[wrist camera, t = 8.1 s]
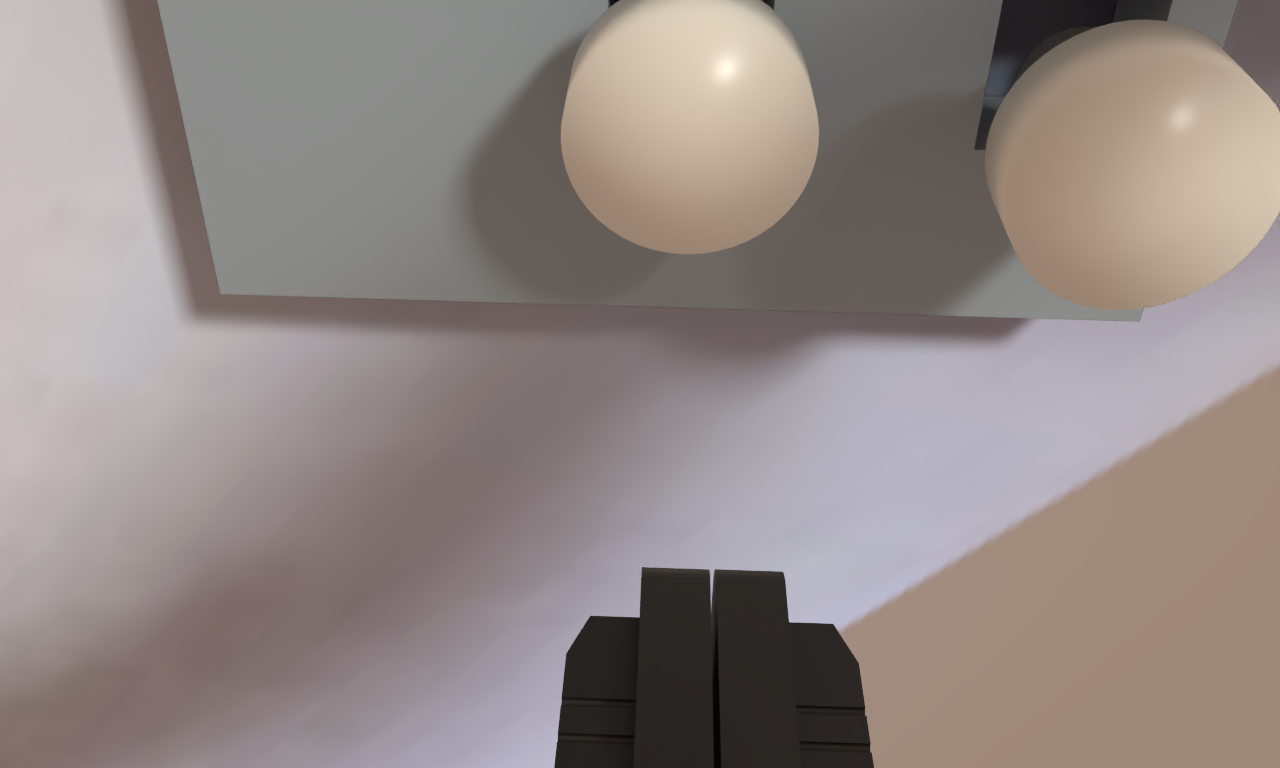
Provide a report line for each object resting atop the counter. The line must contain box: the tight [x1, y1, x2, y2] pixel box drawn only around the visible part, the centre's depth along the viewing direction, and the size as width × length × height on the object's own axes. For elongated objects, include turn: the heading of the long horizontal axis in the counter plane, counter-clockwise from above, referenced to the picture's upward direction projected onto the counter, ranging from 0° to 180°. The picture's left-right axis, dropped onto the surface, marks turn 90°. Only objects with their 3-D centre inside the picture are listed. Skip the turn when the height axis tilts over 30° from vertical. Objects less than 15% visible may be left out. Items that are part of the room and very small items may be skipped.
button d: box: [561, 0, 819, 254], centre depth 25 cm, size 5×5×5 cm
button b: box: [985, 20, 1280, 310], centre depth 23 cm, size 5×5×5 cm
